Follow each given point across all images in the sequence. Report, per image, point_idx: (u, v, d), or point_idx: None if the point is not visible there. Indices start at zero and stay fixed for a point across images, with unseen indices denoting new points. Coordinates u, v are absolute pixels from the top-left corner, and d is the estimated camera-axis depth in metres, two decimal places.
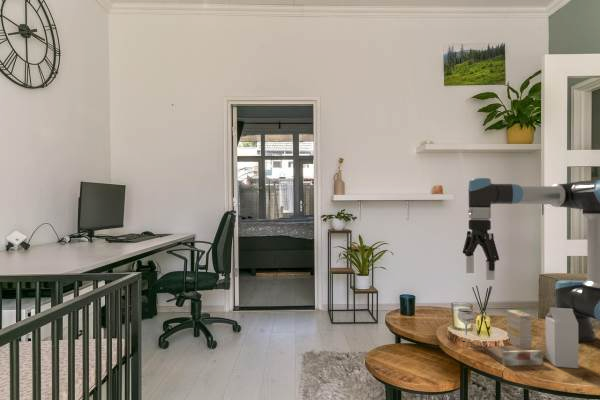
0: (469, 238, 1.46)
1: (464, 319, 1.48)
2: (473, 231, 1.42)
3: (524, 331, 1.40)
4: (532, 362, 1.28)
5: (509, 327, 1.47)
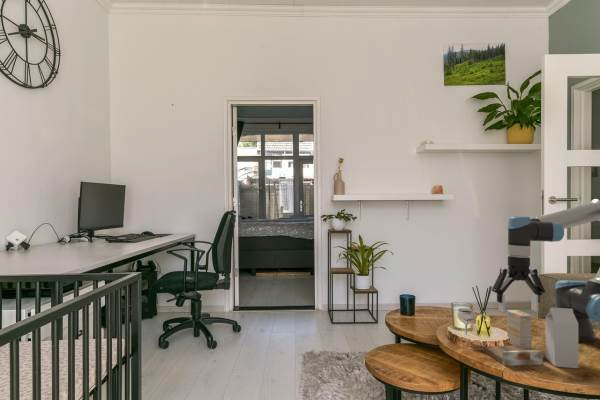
0: (532, 275, 1.46)
1: (464, 319, 1.48)
2: None
3: (524, 331, 1.40)
4: (532, 362, 1.28)
5: (509, 327, 1.47)
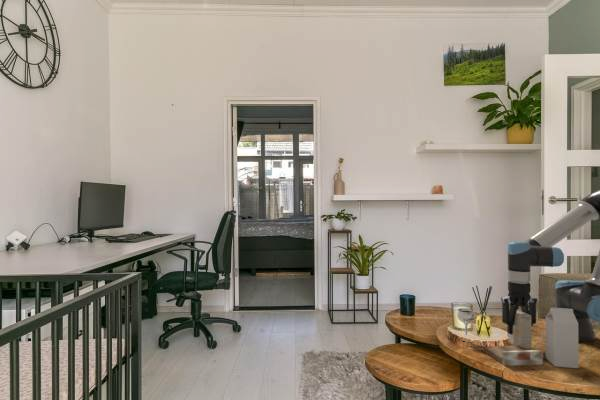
0: (529, 303, 1.46)
1: (464, 319, 1.48)
2: None
3: (524, 331, 1.40)
4: (532, 362, 1.28)
5: None
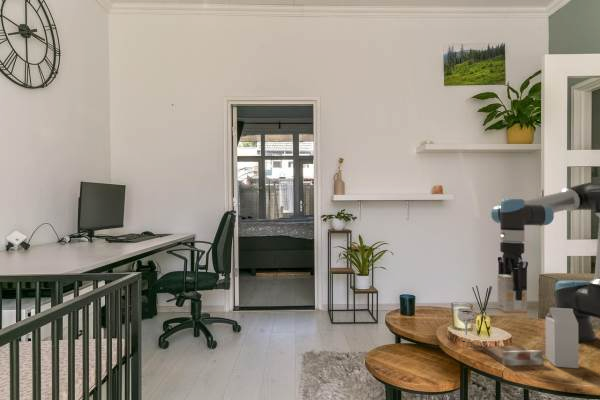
0: (501, 264, 1.39)
1: (464, 319, 1.48)
2: (504, 253, 1.37)
3: None
4: (532, 362, 1.28)
5: (509, 294, 1.31)
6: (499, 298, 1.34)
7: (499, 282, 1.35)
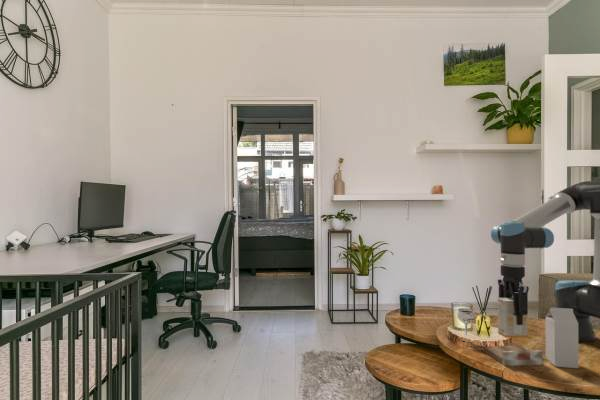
0: (502, 287, 1.38)
1: (464, 319, 1.48)
2: (504, 276, 1.36)
3: None
4: (532, 362, 1.28)
5: (510, 319, 1.31)
6: (499, 322, 1.34)
7: (499, 306, 1.34)
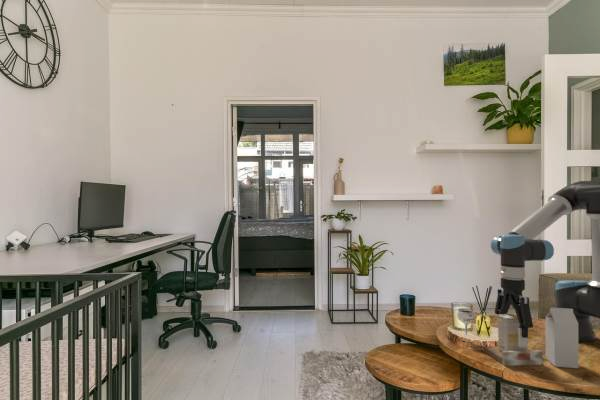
0: (501, 297, 1.39)
1: (464, 319, 1.48)
2: (505, 289, 1.36)
3: None
4: (532, 362, 1.28)
5: (510, 336, 1.31)
6: (500, 339, 1.34)
7: (500, 323, 1.34)
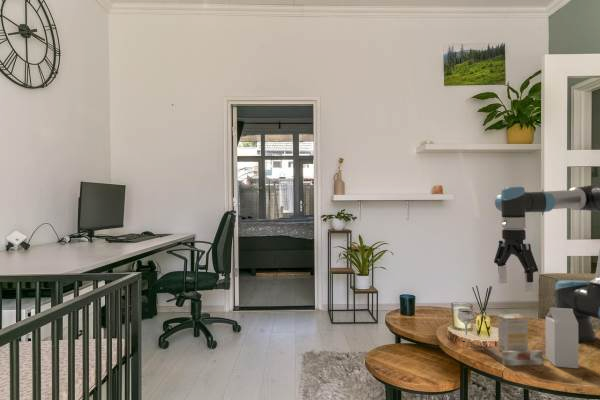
0: (501, 248, 1.43)
1: (464, 319, 1.48)
2: (506, 241, 1.39)
3: None
4: (532, 362, 1.28)
5: (510, 336, 1.31)
6: (500, 339, 1.34)
7: (500, 323, 1.34)
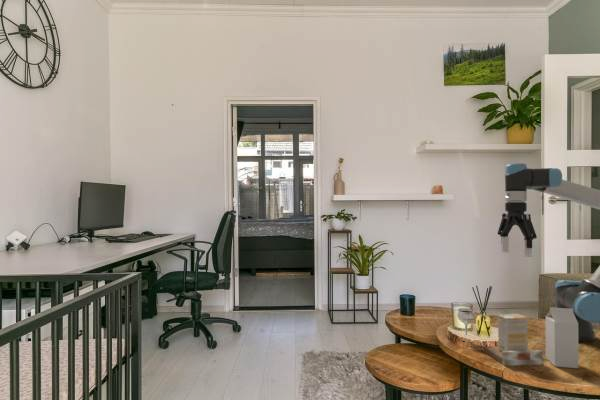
0: (504, 220, 1.57)
1: (464, 319, 1.48)
2: (509, 213, 1.54)
3: None
4: (532, 362, 1.28)
5: (510, 336, 1.31)
6: (500, 339, 1.34)
7: (500, 323, 1.34)
